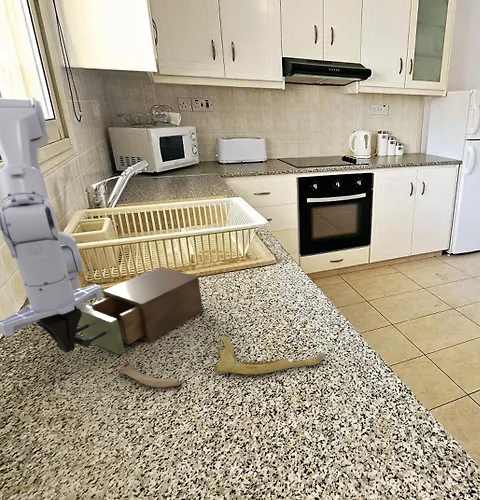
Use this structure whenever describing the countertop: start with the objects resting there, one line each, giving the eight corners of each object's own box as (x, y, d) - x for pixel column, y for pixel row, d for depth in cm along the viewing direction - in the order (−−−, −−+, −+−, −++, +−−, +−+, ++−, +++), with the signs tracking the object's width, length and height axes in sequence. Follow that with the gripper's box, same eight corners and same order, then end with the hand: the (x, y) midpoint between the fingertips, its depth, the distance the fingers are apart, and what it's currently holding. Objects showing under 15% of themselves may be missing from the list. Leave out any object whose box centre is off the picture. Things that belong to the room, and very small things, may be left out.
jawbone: (195, 374, 65) (193, 367, 65) (219, 341, 73) (218, 335, 72) (312, 394, 62) (312, 387, 61) (325, 358, 69) (325, 351, 69)
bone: (171, 394, 60) (169, 383, 59) (117, 377, 63) (114, 367, 63) (182, 383, 62) (181, 373, 62) (129, 368, 66) (127, 358, 65)
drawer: (95, 367, 64) (86, 334, 62) (60, 350, 69) (50, 318, 66) (175, 321, 78) (170, 292, 76) (142, 309, 83) (136, 282, 80)
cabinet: (149, 342, 73) (141, 304, 70) (111, 327, 77) (102, 290, 74) (203, 311, 84) (198, 276, 81) (167, 299, 89) (161, 266, 86)
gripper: (4, 304, 52) (32, 382, 57) (106, 267, 64) (122, 334, 69) (-21, 292, 55) (7, 368, 60) (81, 259, 67) (98, 324, 72)
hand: (67, 349), depth 65 cm, fingers closed
